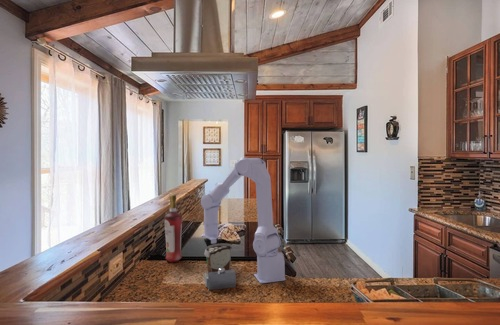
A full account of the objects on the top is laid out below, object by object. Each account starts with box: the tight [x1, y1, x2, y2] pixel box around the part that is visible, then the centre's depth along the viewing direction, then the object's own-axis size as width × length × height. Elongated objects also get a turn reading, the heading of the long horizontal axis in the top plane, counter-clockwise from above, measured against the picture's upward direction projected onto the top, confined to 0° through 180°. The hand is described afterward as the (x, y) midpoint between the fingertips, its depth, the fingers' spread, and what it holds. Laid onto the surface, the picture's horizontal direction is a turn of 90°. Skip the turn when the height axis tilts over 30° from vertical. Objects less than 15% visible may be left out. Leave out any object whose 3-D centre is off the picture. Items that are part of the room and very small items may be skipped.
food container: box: [204, 243, 233, 273], centre depth 110 cm, size 12×6×10 cm, turn 141°
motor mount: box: [203, 268, 237, 291], centre depth 100 cm, size 10×7×6 cm
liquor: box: [164, 194, 183, 263], centre depth 124 cm, size 7×7×28 cm
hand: (211, 256), depth 120 cm, fingers closed
